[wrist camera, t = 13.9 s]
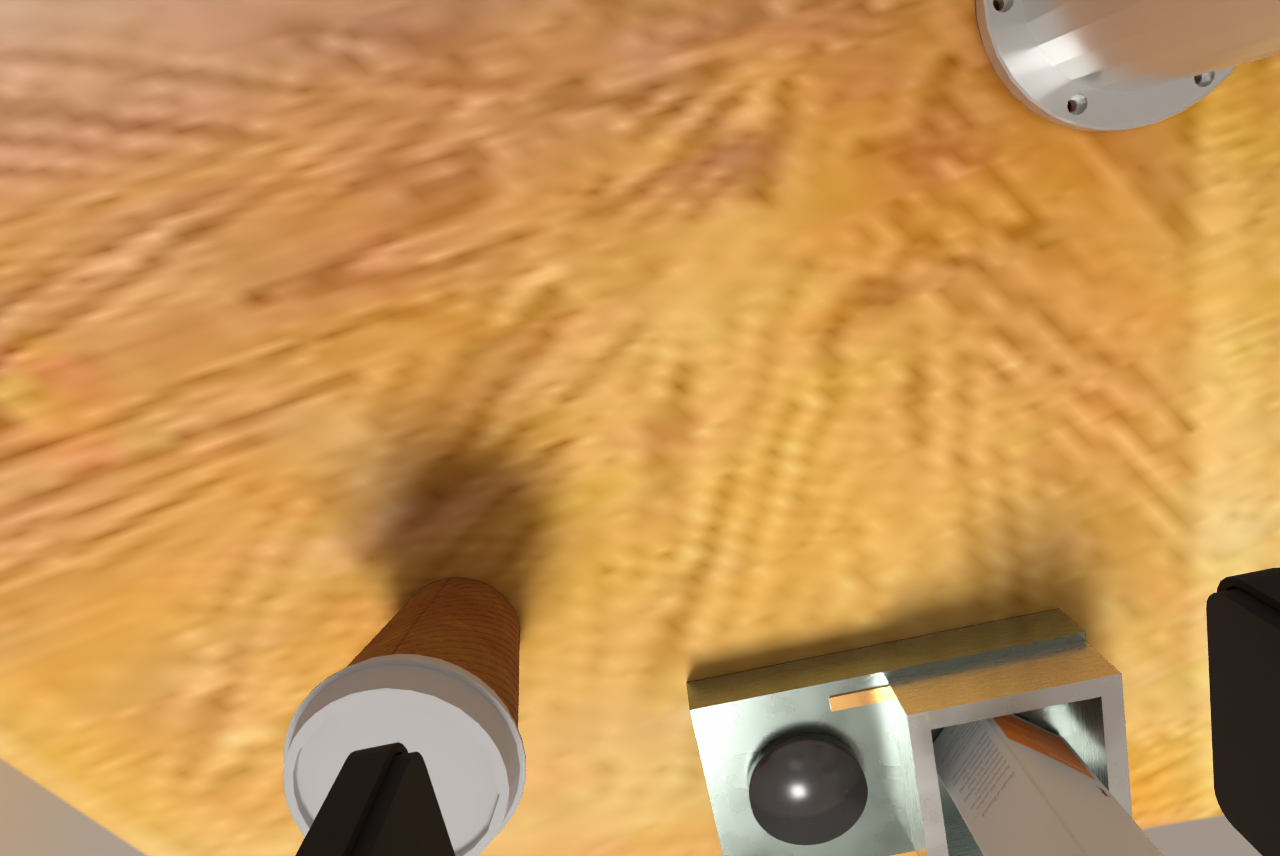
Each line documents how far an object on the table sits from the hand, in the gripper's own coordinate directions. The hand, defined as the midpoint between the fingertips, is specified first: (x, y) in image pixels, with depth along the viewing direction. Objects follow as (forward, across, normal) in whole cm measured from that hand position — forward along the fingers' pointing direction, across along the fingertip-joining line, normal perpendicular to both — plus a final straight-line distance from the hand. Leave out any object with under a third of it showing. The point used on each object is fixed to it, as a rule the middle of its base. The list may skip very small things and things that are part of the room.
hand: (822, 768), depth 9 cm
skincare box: (+28, -12, +23) cm, 38 cm away
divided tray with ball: (+30, -7, +23) cm, 39 cm away
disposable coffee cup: (+31, +14, +12) cm, 36 cm away
